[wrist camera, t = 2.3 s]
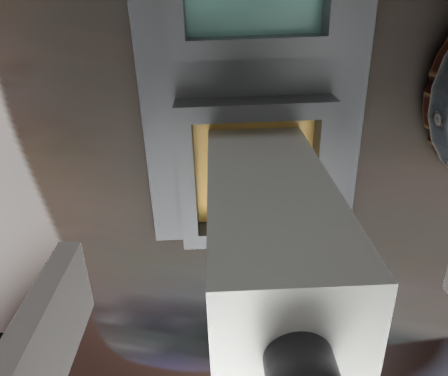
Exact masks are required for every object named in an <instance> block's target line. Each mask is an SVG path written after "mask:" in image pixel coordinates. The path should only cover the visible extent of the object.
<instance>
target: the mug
mask: <svg viewBox="0 0 448 376" xmlns="http://www.w3.org/2000/svg"><path fill="white" fill-rule="evenodd" d="M429 79H430V82H429V84H428V85H427V87H426V89H425V90H424V95H423V106H422V114H423V124H424V127H425V128H427V129H429V135H428V142H429V143H430V145H431V147H432V149H433V151H434V152H435V154H436V155H437V156H438V157H439V158H440V160H441V162H442V163H443V164H444V165H445V166H446V167H447V168H448V38H447V39H446V41H445V43H444V44H443V46H442V47H441V49H440V51H439V52H438V54H437V56H436V58H435V60H434V63H433V65H432V67H431V69H430V72H429Z"/></svg>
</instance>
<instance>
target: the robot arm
mask: <svg viewBox="0 0 448 376" xmlns="http://www.w3.org/2000/svg"><path fill="white" fill-rule="evenodd" d="M442 288H443V289H444V290H445V292H446V293H447V294H448V267H447V271H446V275H445V279H444V283H443V287H442ZM93 306H94V301H93V296H92V292H91V287H90V282H89V277H88V273H87V268H86V263H85V258H84V254H83V249H82V244H81V242H59V243H58V244H57V246H56V248H55V249H54V251H53V253H52V255H51V256H50V258H49V260H48V261H47V263H46V264H45V266H44V267H43V269H42V271H41V273H40V274H39V276H38V277H37V279H36V281H35V282H34V284H33V286H32V287H31V289H30V291H29V292H28V294H27V296H26V298H25V299H24V301H23V302H22V304H21V305H20V307H19V309H18V311H17V312H16V314H15V315H14V317H13V319H12V321H11V322H10V324H9V325H8V327H7V329H6V331H5V332H4V333H0V376H68V374H69V371H70V368H71V366H72V363H73V360H74V358H75V355H76V352H77V349H78V347H79V344H80V341H81V339H82V336H83V333H84V330H85V328H86V325H87V322H88V320H89V317H90V314H91V311H92V309H93Z"/></svg>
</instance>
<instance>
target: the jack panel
mask: <svg viewBox="0 0 448 376" xmlns="http://www.w3.org/2000/svg"><path fill="white" fill-rule="evenodd" d="M127 4H128V12H129V20H130V28H131V37H132V45H133V53H134V61H135V69H136V78H137V86H138V94H139V102H140V111H141V119H142V127H143V135H144V143H145V152H146V160H147V168H148V176H149V185H150V193H151V201H152V209H153V217H154V226H155V234H156V241H158V240H182V239H183V242H184V250H188V249H206V240H207V180H208V130H229V129H255V128H282V127H300V129H301V131H302V132H303V134H304V135H305V137H306V139H307V140H308V142H309V143H310V145H311V146H312V148H313V150H314V151H315V153H316V154H317V156H318V158H319V159H320V161H321V162H322V164H323V165H324V167H325V169H326V170H327V172H328V173H329V175H330V176H331V178H332V180H333V181H334V183H335V184H336V186H337V188H338V189H339V191H340V192H341V194H342V195H343V197H344V199H345V200H346V202H347V203H348V205H349V206H350V208H351V210H352V208H353V200H354V192H355V184H356V176H357V168H358V160H359V152H360V143H361V135H362V127H363V119H364V111H365V103H366V95H367V87H368V79H369V70H370V62H371V54H372V46H373V38H374V30H375V22H376V14H377V5H378V0H127Z"/></svg>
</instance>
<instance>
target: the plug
mask: <svg viewBox="0 0 448 376" xmlns="http://www.w3.org/2000/svg"><path fill="white" fill-rule="evenodd" d="M397 289H398V282H397V281H396V279H395V278H394V276H393V274H392V273H391V271H390V270H389V268H388V267H387V265H386V263H385V262H384V260H383V259H382V257H381V255H380V254H379V252H378V251H377V249H376V248H375V246H374V244H373V243H372V241H371V240H370V238H369V237H368V235H367V233H366V232H365V230H364V229H363V227H362V225H361V224H360V222H359V221H358V219H357V218H356V216H355V214H354V213H353V211H352V210H351V208H350V206H349V205H348V203H347V202H346V200H345V199H344V197H343V195H342V194H341V192H340V191H339V189H338V188H337V186H336V184H335V183H334V181H333V180H332V178H331V176H330V175H329V173H328V172H327V170H326V169H325V167H324V165H323V164H322V162H321V161H320V159H319V158H318V156H317V154H316V153H315V151H314V150H313V148H312V146H311V145H310V143H309V142H308V140H307V139H306V137H305V135H304V134H303V132H302V131H301V129H300V127H282V128H255V129H229V130H208V180H207V240H206V306H207V322H208V338H209V354H210V370H211V376H380V375H381V370H382V365H383V360H384V355H385V350H386V345H387V340H388V335H389V330H390V325H391V320H392V315H393V310H394V305H395V300H396V294H397Z"/></svg>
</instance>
